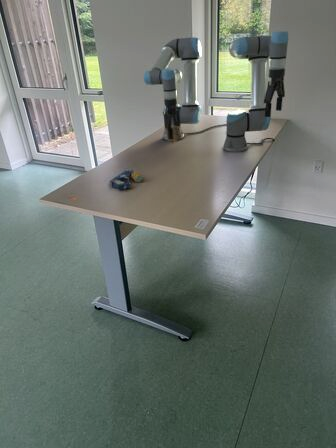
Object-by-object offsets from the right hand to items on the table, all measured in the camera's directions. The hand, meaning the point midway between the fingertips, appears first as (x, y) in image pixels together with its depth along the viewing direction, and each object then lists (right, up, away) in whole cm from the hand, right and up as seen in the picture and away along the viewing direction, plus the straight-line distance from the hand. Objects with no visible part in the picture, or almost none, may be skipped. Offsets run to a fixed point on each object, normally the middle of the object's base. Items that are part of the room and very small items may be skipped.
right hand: (273, 113), depth 171 cm
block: (-51, -5, +35) cm, 62 cm away
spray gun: (-76, -34, +14) cm, 85 cm away
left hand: (-51, -3, +34) cm, 61 cm away
